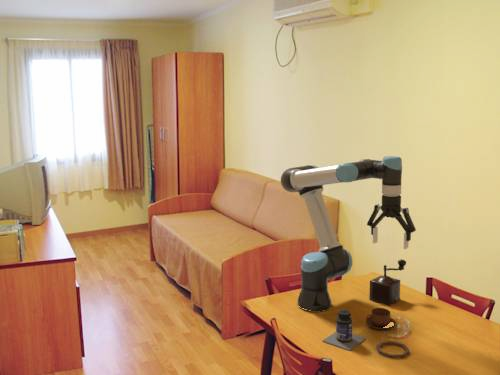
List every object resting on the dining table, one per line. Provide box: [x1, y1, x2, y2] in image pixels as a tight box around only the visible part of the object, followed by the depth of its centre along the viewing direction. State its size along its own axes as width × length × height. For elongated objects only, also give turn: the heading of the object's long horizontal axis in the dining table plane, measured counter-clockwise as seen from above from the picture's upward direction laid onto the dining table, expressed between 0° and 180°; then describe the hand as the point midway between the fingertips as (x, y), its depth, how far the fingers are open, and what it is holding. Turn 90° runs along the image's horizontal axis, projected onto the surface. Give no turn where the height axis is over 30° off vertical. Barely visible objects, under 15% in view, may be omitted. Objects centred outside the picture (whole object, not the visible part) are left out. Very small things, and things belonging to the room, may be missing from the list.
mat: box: [322, 331, 367, 352], centre depth 193 cm, size 12×12×1 cm
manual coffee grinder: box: [369, 259, 407, 306], centre depth 232 cm, size 16×11×18 cm
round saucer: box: [375, 340, 410, 359], centre depth 184 cm, size 11×11×1 cm
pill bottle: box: [335, 309, 353, 342], centre depth 192 cm, size 6×6×11 cm
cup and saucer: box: [365, 307, 397, 331], centre depth 205 cm, size 12×12×6 cm
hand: (390, 245), depth 207 cm, fingers open, 13 cm apart
